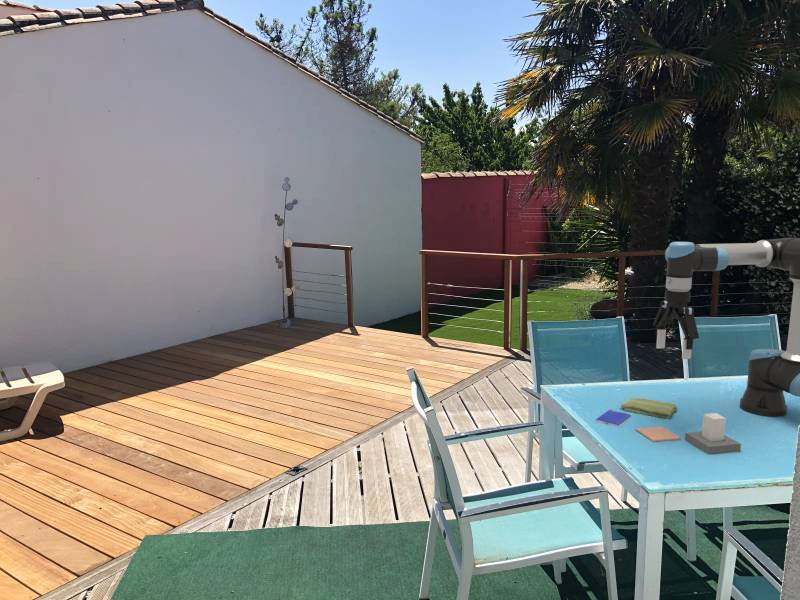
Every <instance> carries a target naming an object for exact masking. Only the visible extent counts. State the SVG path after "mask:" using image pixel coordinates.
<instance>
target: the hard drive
mask: <svg viewBox="0 0 800 600" xmlns="http://www.w3.org/2000/svg"><path fill="white" fill-rule="evenodd" d="M631 417H632V415H631V414H630V413H626V412H621V411H617V410H613V409H608V410H607V411H605V412H604V413H603V414H601V415H599V416H598V417H597V418H596V419H595V420H594V421H595V422H596V423H600V424H604V425H608V426H612V427H615V428H616V427H617V428H619V427H621V425H623V424H624V423H626V422H628V420H629V419H631Z"/></svg>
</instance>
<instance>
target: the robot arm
mask: <svg viewBox="0 0 800 600" xmlns="http://www.w3.org/2000/svg"><path fill="white" fill-rule="evenodd" d="M664 258H665V261H666V262H667V263H666V280H665V290H664V300H662V301H660V304H659V309H658V311H657V313H656V315H655V318H654V321H653V323H652V326H654V327H655V329H656V346H655V349H665V348H666V337H667V336H666V334H667V327H666V326H667V325H668V324H669V323H670V321H671V320H672V318H673V319H676V321H677V322H678V323H679V325H680V328H681V330H682V333H683V335H684V338H683V341H682V353H681V359H682V360H690V359H692V350H693V346H694V340H696V339H699V337H700V335H699V333H698V332H699V331H698V327H697V322H696V318H695V308H694V307H688V306H687V305H688V303H690V302H691V293H692V292H691V291H690V290H691V289H692V284H693V283H692V281H693V272H716V271H722V270H725V269H726V268H727V267H728V266H743V265H747V266H748V265H753V266H754V265H755V266H756V267H759V268H771V269H779V270H782V271H789V276H788V277H789V280H790V281H792V283H793V290H792V299H791V307H790V318H789V325H788V326H789V327H788V335H787V344H786V349H785V350H782V349H776V348H775V349H774V348H758V349H756V348H755V349H753V350H752V351H751V352H750V355H749V359H748V371H747V381H746V383H747V384H746V387H745V388H746V389H745V390H744V392H743V395H742V397H741V398H740V400H739V408H740V409H742V410H743V411H745V412H748V413H750V414H754V415H759V416H764V417H784V416H786V415H787V413H788V406H787V403H786V399H785V394H784V392H786V393H788V394H790V395H792V396H794V397H800V237H782V238H773V239H761V240H758V241H756V242H753V243H752V242H748V243H747V242H746V243H745V242H744V243H740V242H739V243H701V244H700V243H699V244H695V243H694V242H693V241H692V242H690V241H672V242H670V244H669V245H668V247H667V248H666V249H665V254H664Z"/></svg>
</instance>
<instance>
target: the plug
mask: <svg viewBox="0 0 800 600" xmlns="http://www.w3.org/2000/svg"><path fill="white" fill-rule="evenodd" d="M726 421H727V418H726V417H724V416H722V415H721V414H719V413H716V412H714V413H703V415H702V427H701V428H702V429H701V431H702V437H703V438H705V439H707V440H708V441H710V442H717V441H724V435H725V430H726Z"/></svg>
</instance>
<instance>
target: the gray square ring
mask: <svg viewBox="0 0 800 600" xmlns="http://www.w3.org/2000/svg"><path fill="white" fill-rule="evenodd" d="M684 441H686V442H688V443H689V444H691V445H693V446H694V447H696V448H697V449H699V450H700V451H703V452H704V453H706V454H707V455H715V454H724V453H725V454H727V453H734V452H735V453H736V452H741V449H742V444H741V443H740V442H738V441H736V440H734V439H733V438H731V437H730V436H727V435H726V434H724V441H717V442H710V441H708V440H707V439H705V438H703V437H702V430H700V431H689V432H685V435H684Z"/></svg>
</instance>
